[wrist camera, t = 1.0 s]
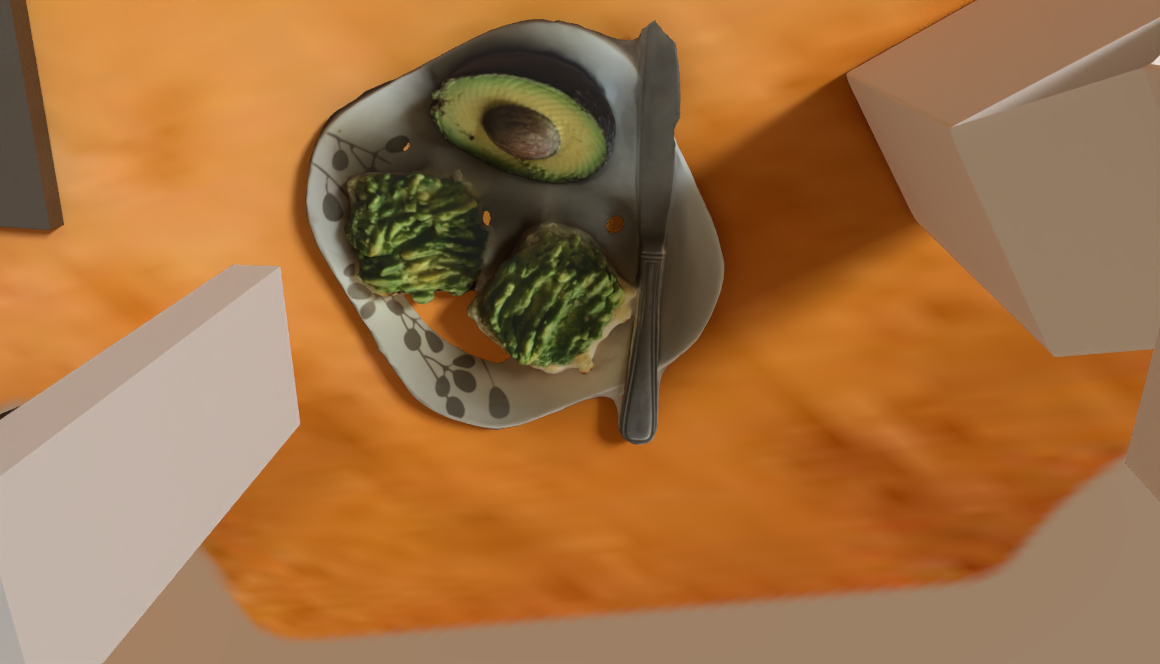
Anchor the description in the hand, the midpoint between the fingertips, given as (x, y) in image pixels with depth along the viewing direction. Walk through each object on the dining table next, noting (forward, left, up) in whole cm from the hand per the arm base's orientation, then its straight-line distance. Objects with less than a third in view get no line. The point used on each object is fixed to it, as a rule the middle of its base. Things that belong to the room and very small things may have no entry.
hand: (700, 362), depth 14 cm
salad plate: (+5, -7, -27) cm, 28 cm away
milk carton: (-1, +11, -26) cm, 29 cm away
